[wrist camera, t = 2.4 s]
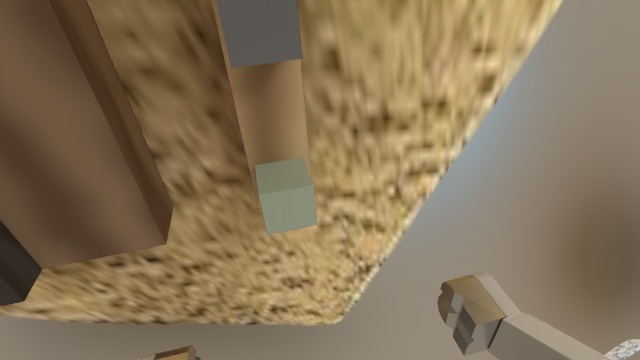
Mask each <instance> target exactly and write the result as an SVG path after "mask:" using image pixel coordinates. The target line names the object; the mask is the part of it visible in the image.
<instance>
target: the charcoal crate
mask: <svg viewBox="0 0 640 360" xmlns="http://www.w3.org/2000/svg"><path fill="white" fill-rule="evenodd" d="M217 5H218V9H219V14H220V19H221V23H222V28H223V32H224V37H225V42H226V46H227V51H228V56H229V60H230V65H231V68H235V67H243V66H251V65H258V64H266V63H274V62H281V61H289V60H297V59H302V50H301V39H300V28H299V17H298V6H297V0H217Z"/></svg>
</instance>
